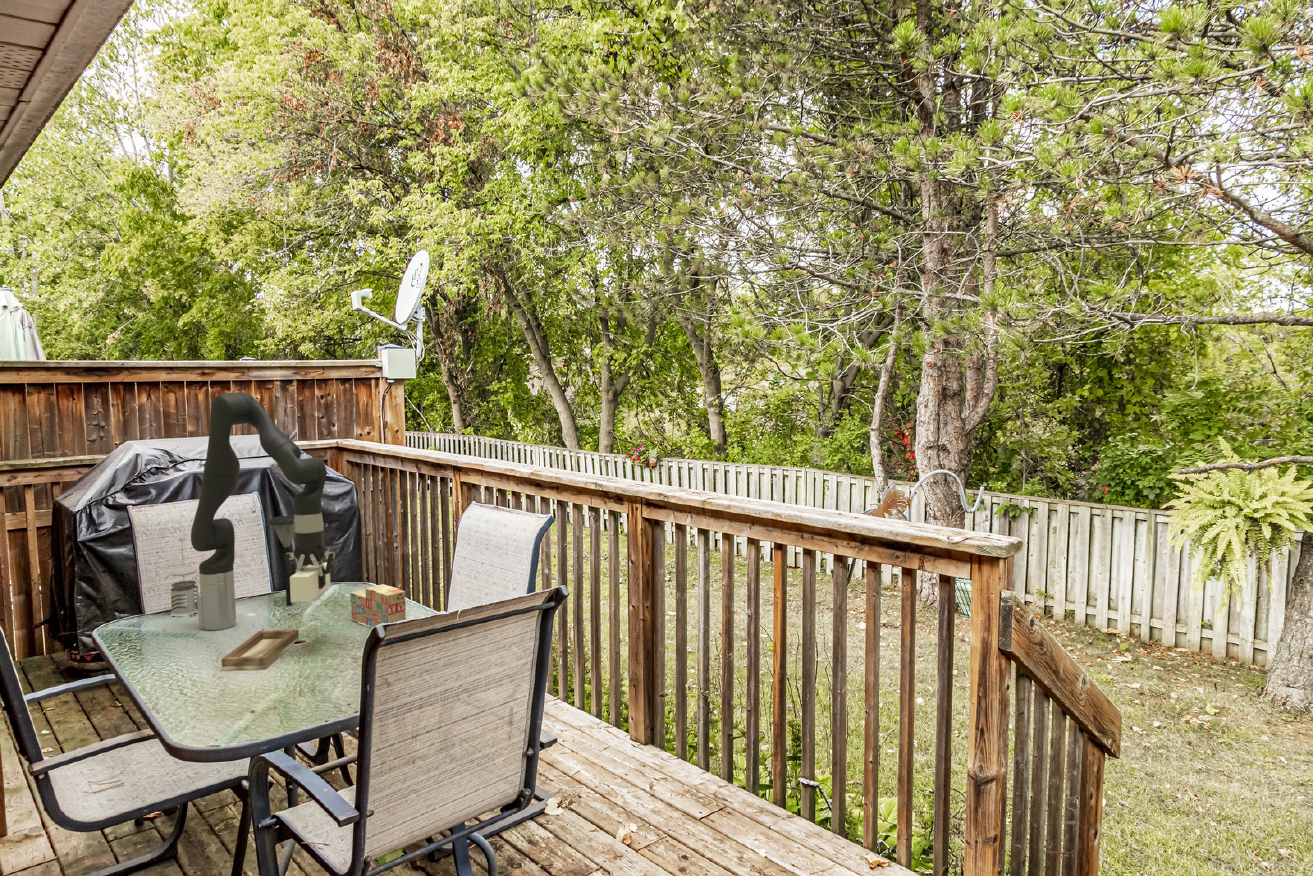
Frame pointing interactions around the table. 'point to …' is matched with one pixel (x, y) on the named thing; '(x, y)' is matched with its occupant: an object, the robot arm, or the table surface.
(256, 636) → the wooden serving tray
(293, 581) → the block
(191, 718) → the table surface
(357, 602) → the stack of blocks
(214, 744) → the table surface
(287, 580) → the solar garden light
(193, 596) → the french press
